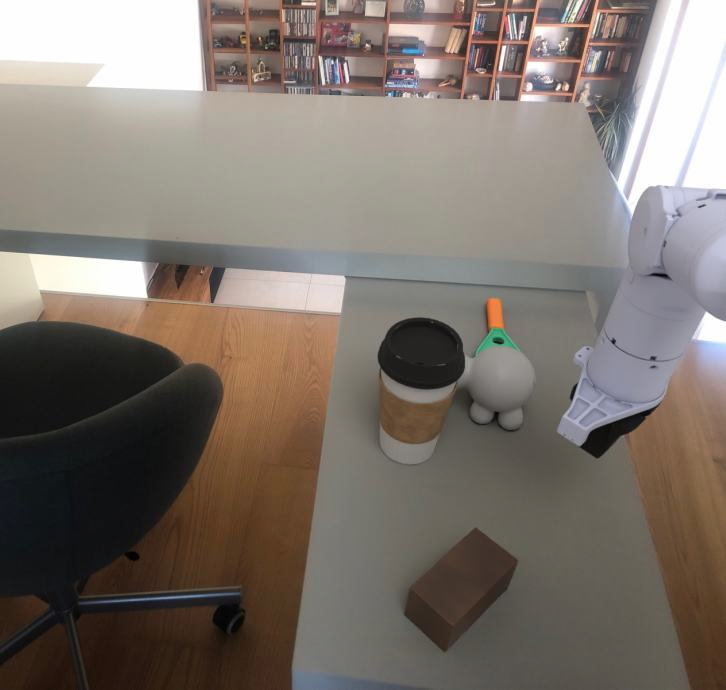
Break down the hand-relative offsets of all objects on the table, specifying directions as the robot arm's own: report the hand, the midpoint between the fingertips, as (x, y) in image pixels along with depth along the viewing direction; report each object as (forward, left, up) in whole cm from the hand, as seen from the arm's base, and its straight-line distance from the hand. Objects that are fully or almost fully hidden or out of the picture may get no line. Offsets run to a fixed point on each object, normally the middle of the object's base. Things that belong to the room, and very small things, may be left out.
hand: (591, 448), depth 61 cm
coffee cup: (+16, +4, -11) cm, 20 cm away
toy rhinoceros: (+15, -6, -11) cm, 20 cm away
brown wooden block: (+1, +10, -8) cm, 13 cm away
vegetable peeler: (+20, -17, -11) cm, 28 cm away
